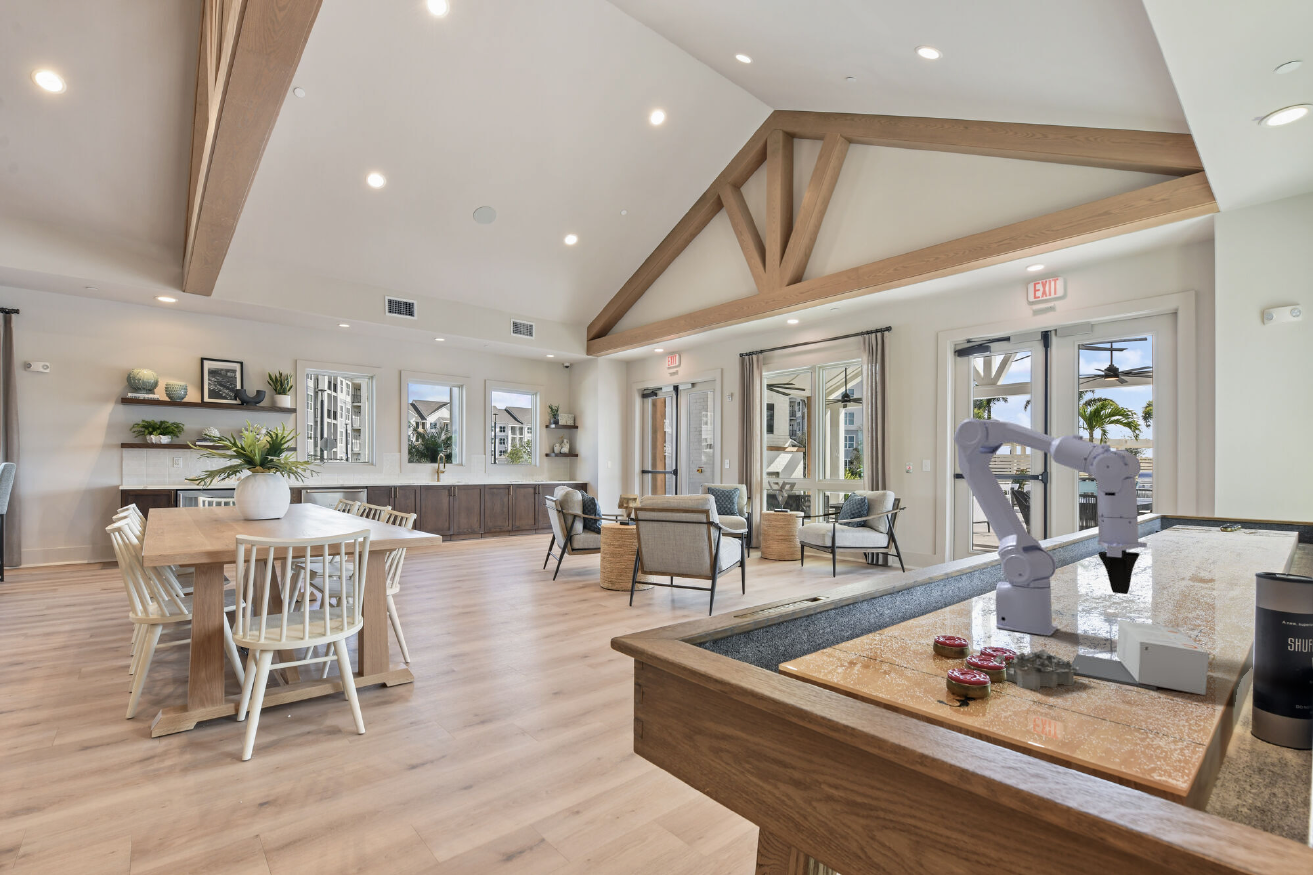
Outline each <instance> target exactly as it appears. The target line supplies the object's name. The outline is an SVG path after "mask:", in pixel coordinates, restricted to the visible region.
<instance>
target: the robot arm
mask: <svg viewBox="0 0 1313 875" xmlns="http://www.w3.org/2000/svg"><path fill="white" fill-rule="evenodd" d="M953 440H954V442H955V444H956V446H957V462H958V469H959V470H960V473H961V474H962V476H963V478H964V479H965V481H966V483H967V485H968V486H969V490H970V491H971V493H972V495H973V496H974V498H975V500H976V501H977V503H978V505H979V507H980V509H981V510H982V512H983V514H984V516H985V518H986V520H987V522H988V523H989V525H990V527H991V529H992V531H993V533H994V534H995V536H996V537H997V540H998V541H999V545H998V549H997V554H998V556H999V559H1000V562H1001V571H1002V574H1003V576H1004V577H1005V578H1006V579H1007V580H1008V581H998V582H997V584H996V587H995V612H996V613H995V614H996V617H995V618H996V625H995V628H997V629H1002V630H1008V631H1009V630H1010V631H1013V632H1014V631H1016V632H1022V633H1029V634H1034V635H1035V634H1036V635H1042V636H1052V635H1053V634H1054V632H1056V630H1058V625H1057V624H1053V616H1052V615H1053V614H1052V610H1053V609H1052V589H1051V587H1052V585H1051V578H1052V577H1053V576H1054V575H1055V574H1056V571H1057V563H1056V562H1057V561H1056V560H1055V558H1054V557H1053V555H1052V554H1051V553H1049V552H1048V551H1046V550H1045V549H1044V548H1043V547H1042V545H1041V543H1040V542H1039V541H1038V540H1037V539H1036V538H1035V537H1033V536H1032V535H1031V534H1029V533H1028V532H1027V530H1026V528H1025V526H1024V525H1023V523H1022V522H1021V521H1022V520H1020V518H1019V516H1018V514H1017V512H1016V511H1015V509H1014V507H1013V506H1012V504H1011V502H1010V500H1009V499H1008V497H1007V495H1006V494H1005V492H1004V490H1003V488H1002V486H1001V485H1000V483H999V481H998V480H997V477H996V476H995V475H994V472H993V471H992V469H991V467H990V464H991V462H992V459H993V457H994V456H995V455H996V454H997V452H998V451H999V450H1000V449H1001V448H1002V447H1003V445H1004V444H1011V443H1014V444H1017V445H1020V446H1022V447H1023V446H1024V447H1027V448H1030V449H1033V450H1037V451H1040V452H1044V453H1046V454H1049V455H1050V457H1051V458H1052V460H1053V461H1054V462H1055V463H1056V464H1059V465H1061V466H1064V467H1067V468H1071V469H1073V470H1076V471H1078V472H1082V473H1085V474H1087V475H1092V477H1093V478H1094V479H1095V480H1096V498H1097V499H1096V501H1097V524H1098V526H1097V528H1098V540H1097V545H1098V546H1100V547H1102V548H1105V549H1106V551H1099V552H1098V557H1099V559H1100V560H1101V562H1102V564H1103V566H1104V568H1105V570H1106V573H1107V577H1108V581H1109V585H1110V588H1111V591H1112V593H1113V594H1121V595H1128V593H1129V590H1130V587H1131V580H1132V574H1133V571H1134V568H1135V564H1136V562H1137V561H1138V559H1139V557H1140V553H1139V552H1135V551H1134V552H1132V551H1127V550H1131V549H1139V548H1148V542H1142V541H1139V524H1138V523H1139V522H1138V521H1139V520H1138V498H1137V495H1138V494H1137V485H1136V481H1137V480H1136V477H1137V476H1138V475H1139V474H1140V471H1141V467H1142V466H1141V462H1140V459H1139V458H1138V457H1137V456H1136V455H1135V454H1133V453H1131V452H1129V451H1127V450H1126V449H1115V450H1111V445H1110V444H1107V443H1102V444H1098V443H1095V442H1092V441H1088V440H1085V439H1084V436H1083V435H1080V434H1072V435H1069V434H1068V435H1063V436H1061V437H1059V438H1056V437H1053V436H1052V435H1048V434H1045V433H1043V432H1039V431H1037V430H1034V429H1032V428H1028V427H1026V426H1022V425H1019V424H1017V423H1013V422H1009V421H1002V420H1001V421H1000V420H998V419H993V418H991V419H983V418H982V419H981V418H980V419H979V418H975V417H974V418H973V417H969V418H965V419H964V420H963V421H960V423H959V425H958V426H957V428H956V430H955V433H954V436H953Z"/></svg>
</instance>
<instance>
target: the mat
mask: <svg viewBox="0 0 1313 875" xmlns="http://www.w3.org/2000/svg"><path fill="white" fill-rule="evenodd" d="M1070 664H1071V665H1072V666H1073V667H1075V668H1076V666H1079V668H1080V669H1079V668H1078V669H1077V673H1076V672H1074V676H1078V677H1079V676H1080V677H1085V678H1091V679H1094V680H1095V679H1096V680H1101V681H1106V682H1112V683H1116V684H1123V685H1126V686H1127V685H1128V686H1133V687H1139V688H1142V689H1144V688H1145V689H1149V690H1153V691H1154V690H1155V691H1157V687H1158V686H1152V685H1147V684H1142V683H1138V682H1137V681H1136V679H1135V678H1134V677H1133V676H1132V675H1131V673H1130V672H1129V671H1128V670H1127V668H1126V667H1125V666H1124V665H1123V664H1122V662H1121V661H1120V660H1114V659H1108V658H1104V657H1097V656H1091V655H1085V654H1078V653H1077V654H1076V655H1075V657H1074V658H1073V660H1072V662H1070Z"/></svg>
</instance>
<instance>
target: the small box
mask: <svg viewBox="0 0 1313 875" xmlns="http://www.w3.org/2000/svg"><path fill="white" fill-rule="evenodd" d="M1116 658H1117V659H1118V661H1121V662H1122V664H1123V665H1124V666H1125V667H1126V668H1127V670H1128V671H1129V672H1130V673H1131V675H1132V676H1133V677H1134V678H1135V679H1136V681H1137V682H1138V683H1142V684H1147V685H1152V686H1157V687H1158V688H1164V689H1169V690H1175V691H1180V692H1184V693H1185V692H1186V693H1190V694H1197V695H1201V696H1206V694H1207V692H1206V691H1207V682H1208V671H1209V670H1208V669H1209V660H1210V659H1209V658H1210V653H1209V652H1208V651H1206V650H1205V649H1203V648H1202V647H1201V646H1200V645H1199V644H1198V643H1196V642H1195V641H1194V640H1193V639H1192V638H1190V637H1189V636H1188V635H1187V634H1185V633H1184V632H1183V631H1182V630H1180V629H1179V628H1174V627H1169V626H1164V625H1163V626H1162V625H1156V624H1151V623H1149V624H1148V623H1142V622H1135V621H1130V620H1124V619H1118V631H1117V646H1116Z"/></svg>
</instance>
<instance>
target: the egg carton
mask: <svg viewBox="0 0 1313 875" xmlns="http://www.w3.org/2000/svg"><path fill="white" fill-rule="evenodd" d="M1014 655H1015V657H1014V660H1012V659H1010V668H1009V667H1008V665H1005V666H1004V667H1005V668H1006V676H1007V677H1006V678H1007V679H1006V681H1007V682H1013V683H1016V686H1017V687H1018V688H1021V689H1031V690H1034V691H1035V690H1036V691H1037V690H1040V689H1041V687H1049V688H1052V689H1053V688H1057V686H1058V684H1060V685H1061V684H1062V685H1067V686H1074V685H1075V682H1074V681H1075V680H1074V677H1075V675H1074V672H1076V673H1077V669H1078V668H1079V666H1076V668H1075V667H1073V666H1072V665H1071V662H1070V660H1064V659H1063V658H1061V657H1060V656H1059V657H1058V656H1057V655H1056V654H1054V655H1053V654H1051V653H1049V652H1048V651H1046V650H1045V649H1040V650H1039V651H1035V652H1030V653H1029V652H1028V653H1027V654H1026V653H1024V652H1021V653H1019V654H1014ZM1005 656H1006V655H1005V654H1004V655H1002V654H999V655H997V656H996V657H995V658H994V660H993V663H994V662H997V663H996V664H999V665H1000V664H1002V662H1001V661H1002V660H1005ZM1008 659H1009V658H1008ZM1079 669H1080V668H1079Z"/></svg>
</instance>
